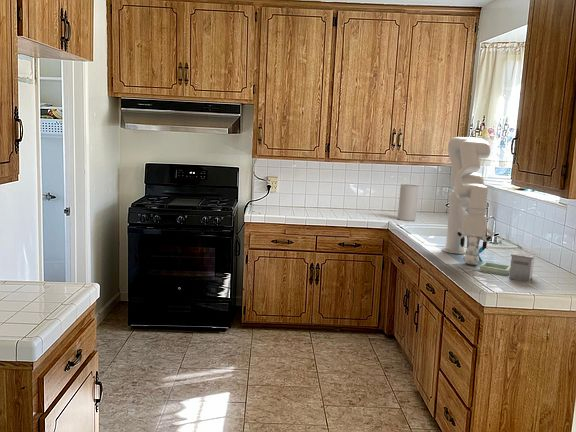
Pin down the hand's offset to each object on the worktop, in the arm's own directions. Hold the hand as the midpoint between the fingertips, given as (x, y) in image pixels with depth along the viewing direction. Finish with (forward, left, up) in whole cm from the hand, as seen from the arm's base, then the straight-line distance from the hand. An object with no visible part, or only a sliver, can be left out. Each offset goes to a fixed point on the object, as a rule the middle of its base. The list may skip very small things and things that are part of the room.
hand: (472, 248), depth 262 cm
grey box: (+11, +23, -8) cm, 27 cm away
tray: (+5, +12, -8) cm, 15 cm away
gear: (-11, -1, -8) cm, 14 cm away
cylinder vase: (-119, -71, -8) cm, 139 cm away
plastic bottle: (0, 0, -8) cm, 8 cm away
